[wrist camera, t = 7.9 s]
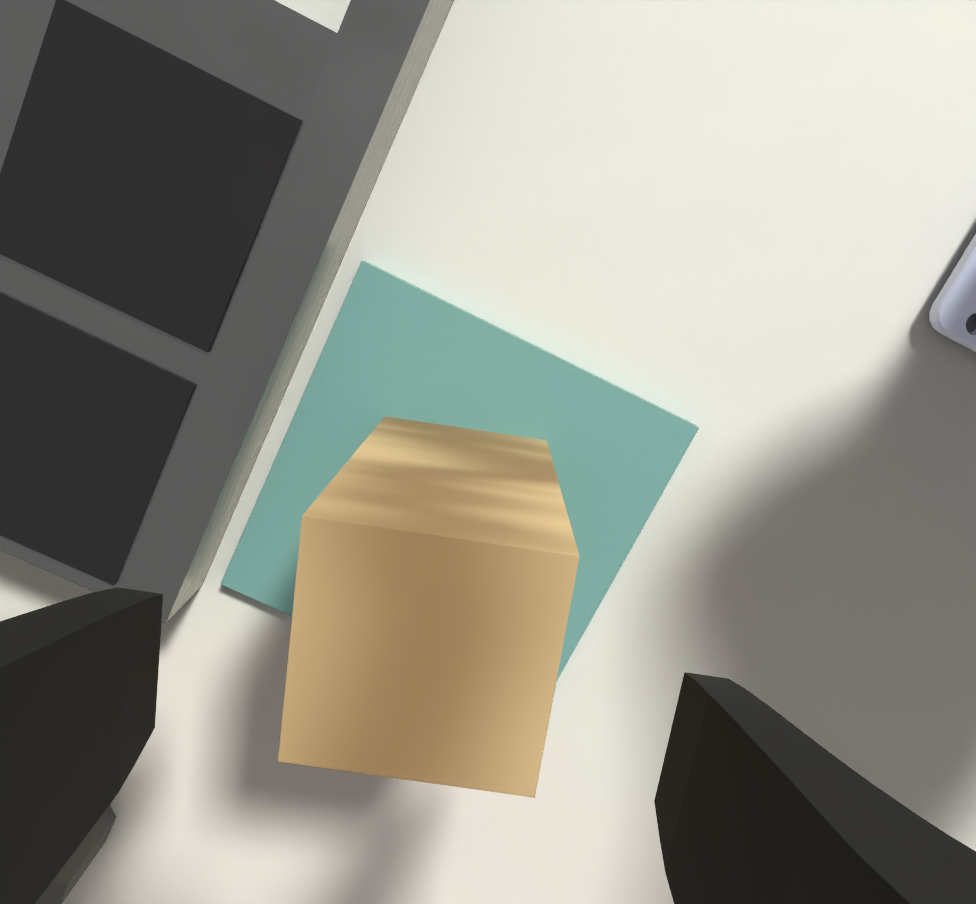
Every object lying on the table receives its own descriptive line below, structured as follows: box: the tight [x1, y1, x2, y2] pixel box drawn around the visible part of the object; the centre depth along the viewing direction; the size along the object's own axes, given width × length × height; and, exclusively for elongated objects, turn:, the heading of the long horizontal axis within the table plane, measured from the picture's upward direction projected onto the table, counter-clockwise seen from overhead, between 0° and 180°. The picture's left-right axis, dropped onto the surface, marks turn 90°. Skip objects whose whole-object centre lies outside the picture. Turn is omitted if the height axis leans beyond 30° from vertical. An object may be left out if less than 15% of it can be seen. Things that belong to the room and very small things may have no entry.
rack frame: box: [0, 0, 454, 623], centre depth 16 cm, size 8×24×2 cm, turn 154°
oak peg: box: [278, 416, 580, 798], centre depth 15 cm, size 4×4×8 cm
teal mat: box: [221, 261, 699, 681], centre depth 19 cm, size 9×9×1 cm
